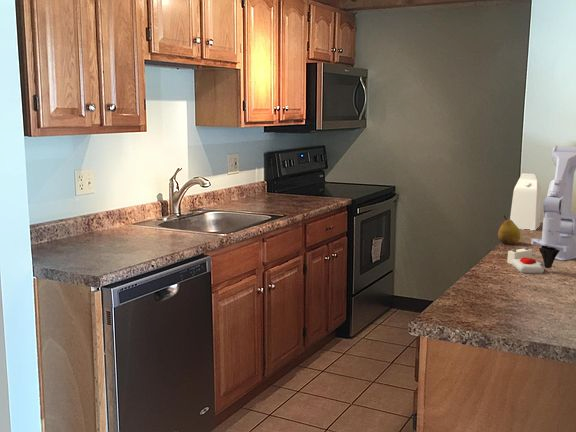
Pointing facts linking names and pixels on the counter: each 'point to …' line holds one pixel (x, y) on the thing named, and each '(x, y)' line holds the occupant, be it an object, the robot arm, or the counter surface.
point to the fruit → (508, 232)
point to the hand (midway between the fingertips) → (547, 267)
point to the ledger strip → (519, 254)
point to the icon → (528, 265)
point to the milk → (526, 202)
